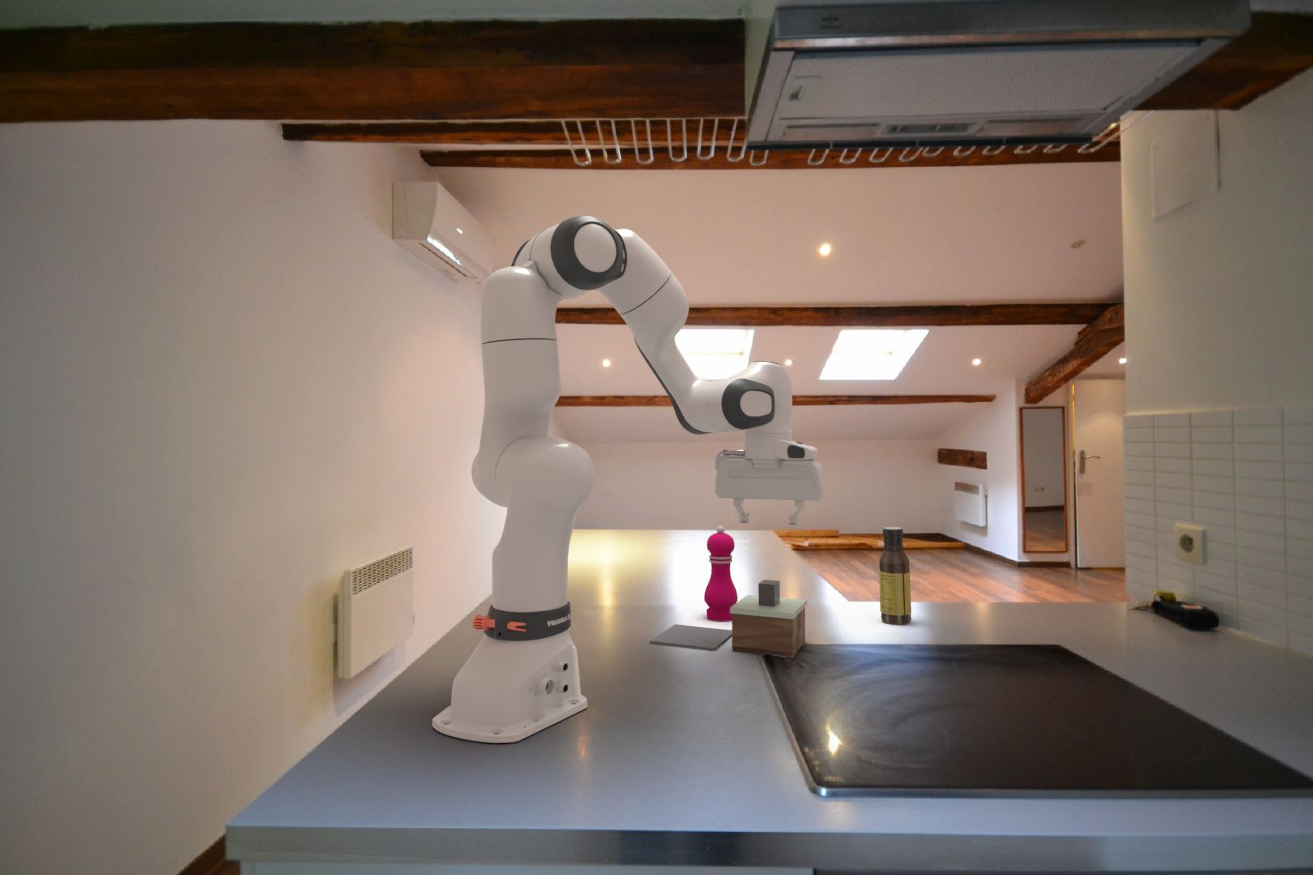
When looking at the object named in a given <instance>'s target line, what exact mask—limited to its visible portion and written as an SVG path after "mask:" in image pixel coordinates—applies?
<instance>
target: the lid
mask: <svg viewBox="0 0 1313 875" xmlns="http://www.w3.org/2000/svg"><path fill="white" fill-rule="evenodd" d="M780 584H781V583H780V580H776V579H775V580H774V579H773V580H772V579H763V580H762V581H761V580H760V582H759V583H758V591H757V592H758V595H753V594H747V595H746V596H744V597H743V598H741V599H740V600H738V601H737V603H736V604H734V605H733V606H732V607H730V613H733V614H743V615H754V616H764V617H774V618H785V619H794V618H795V617H796V616H797V615H798V614H799V613H800V612H801V611H802V610H803V609H804V608H805V609H806V607H807V606H808V604H807V602H808V600H807V599H799V598H790V597H789V598H786V597H780V596H781V594H780V587H781V586H780Z"/></svg>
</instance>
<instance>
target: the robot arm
mask: <svg viewBox="0 0 1313 875" xmlns="http://www.w3.org/2000/svg"><path fill="white" fill-rule="evenodd" d="M593 290H596V291H598V292H599V293H600V294H602V295H603V296H604V297H605V298H607V300H608V301H609V303H610V304H611V305H612V307H613V308H614V309H615V310H616V312H617V313H618V315H620V317H621V318H622V320H623V321H624V322H625V324H626V325H627V326H628V328H629V330H630V331H631V333H632V335H633V339H634V342H635V346H636V348H637V349H638V351H639V353H640V355H641V356H642V358H643V359H644V360H645V362H646V364H647V365H648V367H649V368H650V370H651V371H652V373H653V374H654V376H655V378H656V379H657V380H658V382H659V383H660V385H661V387H662V388H663V389H664V391H665V393H666V394H667V396H668V398H669V400H670V402H671V404H672V407H673V411H674V413H675V416H676V418H677V420H678V422H679V424H680V425H681V427H682V428H683V429H684V430H686V431H687V432H689V433H690V434H693V435H698V436H699V435H700V436H701V435H708V434H714V433H731V432H744V449H723V450H722V451H720V452H718V453H717V455H716V457H715V458H714V459H715V463H714V465H715V469H716V475H715V484H714V493H715V494H716V495H717V497H718V498H719V499H733V500H732V501H733V502H732V503H733V506H734V508H735V510H736V511H737V513H738V514H739V516H738V518H739V524H748V523H750V513H749V512H746V511H745V510H744V508H743V504H744V499H745V500H746V499H747V500H749V499H750V500H776V501H777V500H779V501H781V500H782V501H794V506H795V507H797V508H796V510H795V512H794V514H789V516H788V519H789V521H788V524H789V525H790V526H798V525H799V524H800V515H801V513H802V512H803V510H804V508H805V506H806V501H811V502H813V501H815V502H818V501H820V500H821V499H823V497H825V492H826V490H825V480H824V472H823V468H822V466H821V465H822V464H821V463H820V462H819V461H817V457H818V448H816V447H815V446H812V445H809V444H808V445H807V444H805V443H803V442H800V441H795V440H794V439H793V429H792V424H791V417H792V416H791V415H792V412H793V392H792V383H791V382H792V381H791V376H790V372H789V370H788V369H787V367H786V366H784V365H783V364H780V363H779V362H778V363H777V362H774V361H765V360H763V361H762V360H757V361H753V362H750V363H749V364H748V365H747V367H746V368H745V369H743V370H742V371H740V372H738V373H737V374H735V375H731V376H730V377H728V378H723V379H722V378H721V379H716V380H706V379H702V378H700V377H698V376H697V375H696V374H695V373H694V372H693V370H692V369H691V367H690V365H689V364H688V362H687V360H686V359H685V358H684V356H683V355H682V352H680V349H679V348H678V346H677V344H676V339H675V338H676V335H677V334H678V333H679V332H680V331H681V329H682V328H683V327H684V326H685V323H686V321H687V319H688V317H689V316H688V315H689V311H690V304H689V303H690V301H689V298H688V296H687V294H686V292H685V289H684V287H683V286H682V284H681V283H680V281H679V280H678V279H677V277H676V276H675V275H674V273H673V272H672V271H671V269H670V268H669V266H668V265H667V264H666V263H665V262H664V260H662V258H661V257H660V256H659V254H658V253H657V252H656V251H655V250H654V249H653V248H652V247H651V246H650V245H649V244H648V243H647V242H646V241H645V240H644V239H643V238H641V237H640V236H639V235H638V234H637V232H635V231H634V230H631V229H628V228H616V229H613V227H611V226H610V225H609V224H608V223H606V222H605V221H603V220H601V219H600V218H598V217H595V216H591V215H590V216H589V215H578V216H573V217H572V216H571V217H569V218H567V219H565V220H562V222H560V223H556V224H555V225H552V226H551V225H550V226H549V227H546V228H544V229H542V230H541V231H539V232H538V233H537V234H535V235H534V236H533V237H531V238H530V239H528V240H526V241H525V242H523V244H522V245H521V246H520V247H519V249H518V250H517V252H516V253H515V255H514V257H513V260H512V263H511V265H510V266H506V267H501V268H500V269H497V270H495V271H494V272H492V273H491V274H490V275H488V277H487V278H486V279H485V281H484V283H483V288H482V296H481V306H480V342H481V356H482V357H481V358H482V370H483V384H484V385H483V386H484V408H483V409H484V410H483V418H482V426H481V431H480V432H481V433H480V439H479V440H480V441H479V447H478V452H477V453H476V455H475V456H474V458H473V461H472V465H471V479H472V483H473V485H474V487H475V489H476V490H477V491H478V492H479V494H481V495H482V496H483V497H485V499H487V500H488V501H490V502H491V503H493V504H495V505H497V506H499V507H501V508H502V507H504V508H506V516H505V521H504V526H503V530H502V534H501V536H500V539H499V542H498V543H497V545H496V546H495V548H494V549H493V551H492V555H491V556H492V557H491V574H492V575H491V590H492V591H491V598H492V599H491V605H490V606H489V609H488V612H487V615H485V616H484V615H481V614H477V615H475V616H474V617H473V619H472V628H473V629H474V630H477V631H478V630H479V631H481V630H483V634H484V636H483V637H482V639H481V641H480V642H479V643H478V644H477V646H476V647H475V649H474V651H473V652H472V653H471V654H470V656H469V657H468V658H467V660H466V661H465V663H464V664H463V666H462V667H461V668H460V670H459V671H458V673H457V674H456V675H455V677H454V679H453V683H452V688H451V696H450V697H451V698H450V700H451V701H450V705H449V706H447V707H446V708H444V709H443V710H442V711H441V712H439V713H438V714H437V715H435V717H433V718H432V722H431V725H432V727H433V729H434V730H436V731H437V732H440V734H444V735H446V736H450V737H454V738H458V739H462V740H468V741H473V742H480V743H491V744H492V743H493V744H494V743H495V744H499V743H501V744H502V743H506V744H507V743H515V742H519V741H521V740H523V739H525V738H528V737H529V736H531V735H534V734H536V733H538V732H541V731H542V730H544V729H546V728H547V727H550V726H552V725H554V724H556V723H558V722H561V721H562V720H564V719H566V718H569V717H571V716H573V715H575V714H576V713H579V712H581V711H584V710H585V709H587V708H588V707H589V706H588V705H589V704H588V699H587V697H586V696H584V694H583V695H582V693H581V690H582V689H581V679H580V668H579V657H578V649H577V647H576V644H574V642H573V640H572V637H571V634H570V631H569V628H570V627H571V626H572V625H571V624H572V621H571V620H572V619H571V618H572V610H571V603H570V601H569V600H568V590H569V588H568V582H569V581H568V580H569V578H568V577H569V575H568V574H569V572H568V571H569V550H570V544H571V538H572V534H573V530H574V527H575V523H576V520H577V517H578V514H579V511H580V509H581V507H582V506H583V505H584V503H585V502H586V501H587V500H588V498H590V496H591V493H592V492H593V489H594V485H595V482H596V481H595V480H596V470H595V466H594V463H593V460H592V458H591V456H590V455H589V452H587V451H586V450H585V449H584V448H582V446H580V445H579V444H576V443H573V442H572V441H569V440H566V439H564V438H561V437H559V436H558V437H557V436H549V430H550V425H551V424H550V423H551V419H552V415H553V411H554V407H555V406H556V404H557V402H558V400H559V399H560V396H561V391H562V388H561V372H560V358H559V349H558V348H559V346H558V336H557V328H556V327H557V326H556V314H557V309H558V305H559V303H560V302H561V301H565V300H573V299H575V298H579V297H581V296H584V295H586V294H587V293H589V292H591V291H593Z"/></svg>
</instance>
